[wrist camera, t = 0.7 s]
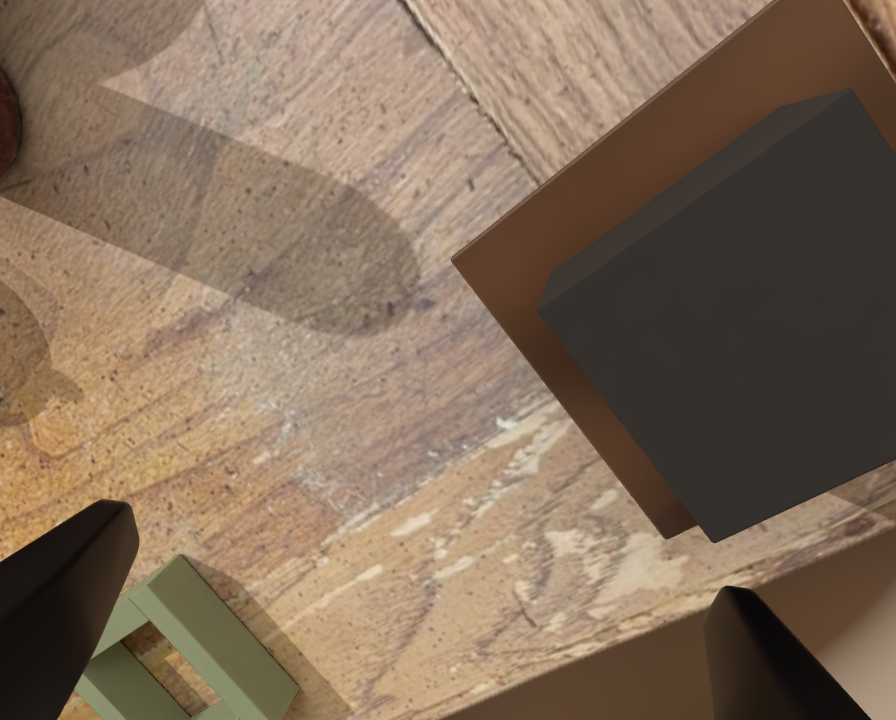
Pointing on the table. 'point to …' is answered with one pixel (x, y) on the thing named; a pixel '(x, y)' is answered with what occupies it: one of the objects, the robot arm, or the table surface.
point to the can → (8, 123)
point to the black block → (750, 316)
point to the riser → (645, 177)
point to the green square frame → (198, 640)
